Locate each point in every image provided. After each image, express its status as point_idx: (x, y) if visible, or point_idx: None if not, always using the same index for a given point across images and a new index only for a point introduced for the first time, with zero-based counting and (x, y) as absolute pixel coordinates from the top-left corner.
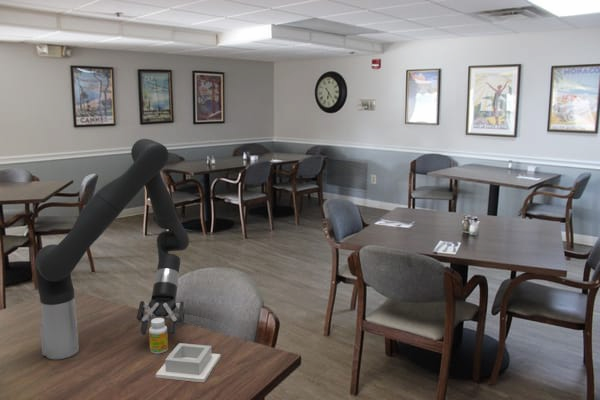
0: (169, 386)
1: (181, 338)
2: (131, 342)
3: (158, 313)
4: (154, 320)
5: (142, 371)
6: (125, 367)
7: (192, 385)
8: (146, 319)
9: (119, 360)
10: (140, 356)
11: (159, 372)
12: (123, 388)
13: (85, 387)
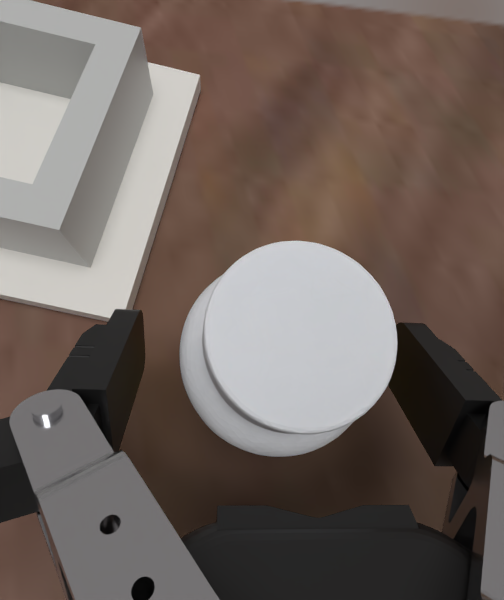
0: None
1: None
2: None
3: (357, 525)
4: (349, 326)
5: (281, 145)
6: (380, 185)
7: None
8: (485, 425)
9: (443, 254)
10: None
11: (183, 86)
12: (320, 34)
13: (475, 57)
